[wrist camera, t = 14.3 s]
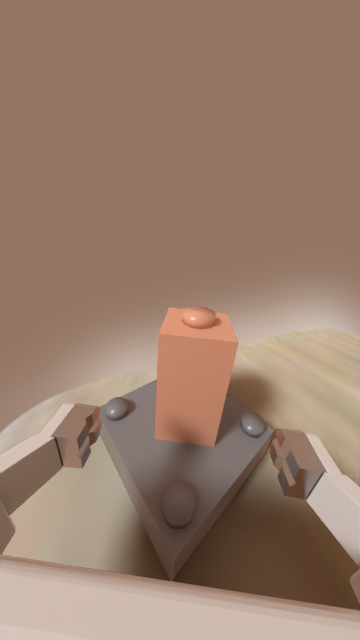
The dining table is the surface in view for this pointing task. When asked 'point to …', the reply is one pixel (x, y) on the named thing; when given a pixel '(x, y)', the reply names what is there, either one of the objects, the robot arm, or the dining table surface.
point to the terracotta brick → (193, 374)
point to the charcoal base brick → (179, 470)
